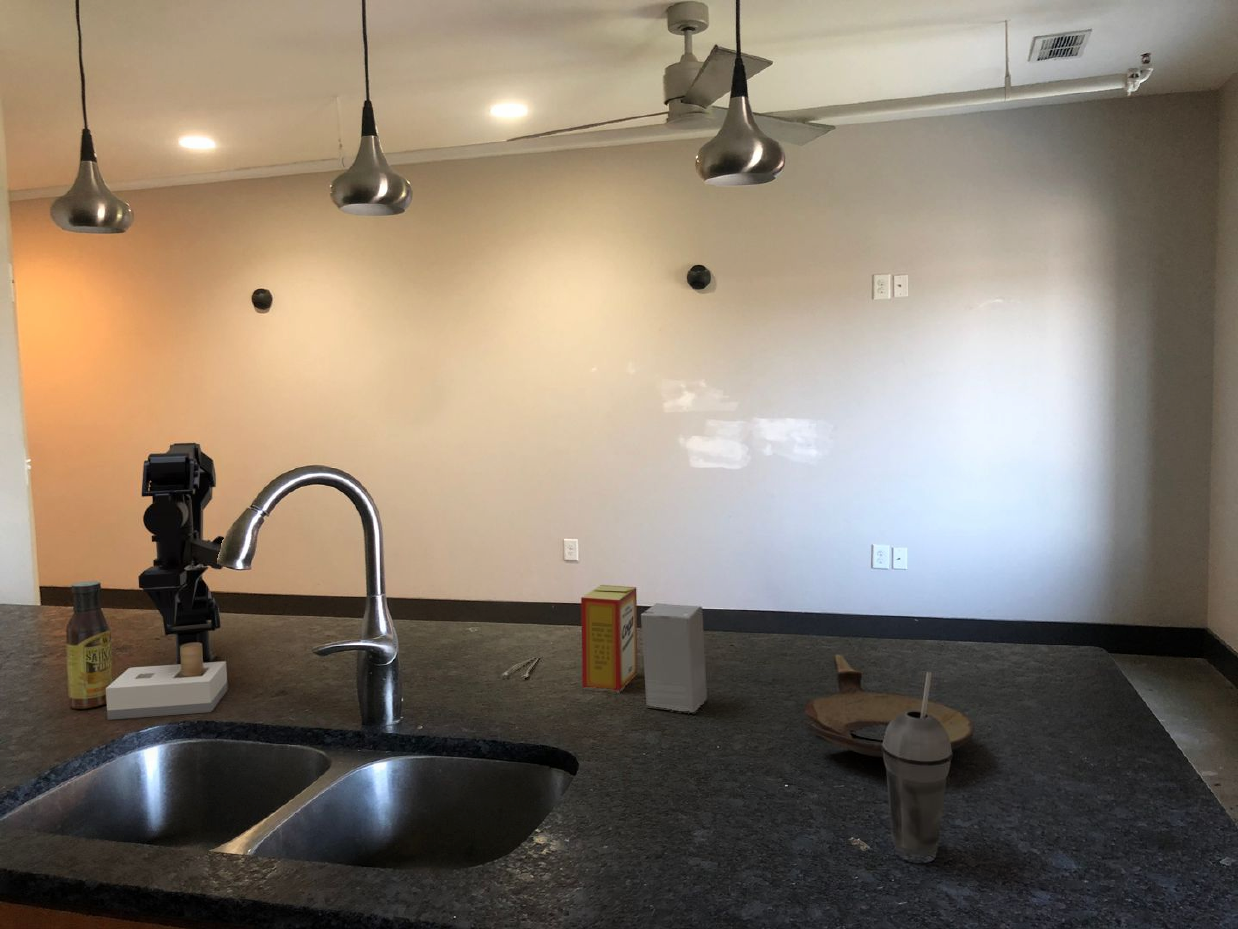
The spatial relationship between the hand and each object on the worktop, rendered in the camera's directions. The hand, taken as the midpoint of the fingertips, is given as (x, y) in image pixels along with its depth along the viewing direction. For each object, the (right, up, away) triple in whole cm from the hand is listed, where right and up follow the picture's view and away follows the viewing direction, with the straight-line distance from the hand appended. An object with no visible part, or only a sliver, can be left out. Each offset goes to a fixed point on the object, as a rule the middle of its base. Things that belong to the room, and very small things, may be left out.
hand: (179, 617), depth 149 cm
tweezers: (+59, -11, +11) cm, 61 cm away
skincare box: (+84, -12, -11) cm, 85 cm away
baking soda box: (+73, -11, 0) cm, 74 cm away
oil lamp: (+113, -13, -25) cm, 116 cm away
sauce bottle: (-11, -13, -7) cm, 18 cm away
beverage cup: (+107, -16, -54) cm, 121 cm away
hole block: (+2, -13, -8) cm, 15 cm away
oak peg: (+6, -11, -7) cm, 14 cm away
